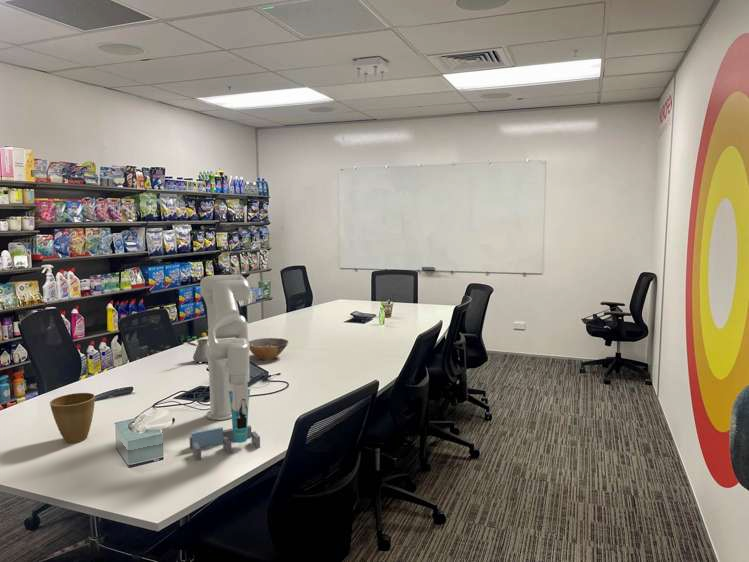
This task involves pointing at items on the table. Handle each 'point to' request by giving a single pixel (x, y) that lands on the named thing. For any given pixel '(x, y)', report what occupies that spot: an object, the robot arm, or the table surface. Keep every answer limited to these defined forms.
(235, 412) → the tube
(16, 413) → the table surface
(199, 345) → the coffee pot
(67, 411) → the plant pot
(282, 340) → the bowl
